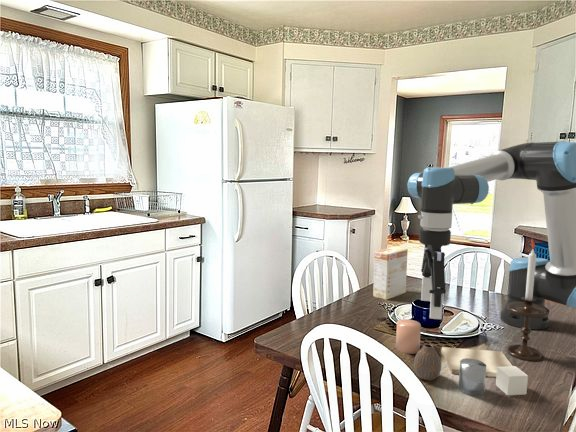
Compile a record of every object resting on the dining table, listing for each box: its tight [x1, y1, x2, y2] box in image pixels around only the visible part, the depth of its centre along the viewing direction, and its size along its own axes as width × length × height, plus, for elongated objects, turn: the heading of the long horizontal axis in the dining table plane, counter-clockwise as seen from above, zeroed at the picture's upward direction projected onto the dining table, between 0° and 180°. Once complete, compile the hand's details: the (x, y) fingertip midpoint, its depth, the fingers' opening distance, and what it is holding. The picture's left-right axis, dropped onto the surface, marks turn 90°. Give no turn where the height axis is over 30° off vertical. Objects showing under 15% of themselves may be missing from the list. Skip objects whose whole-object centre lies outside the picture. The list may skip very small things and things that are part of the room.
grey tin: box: [457, 358, 487, 398], centre depth 108 cm, size 6×6×7 cm
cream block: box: [495, 365, 529, 396], centre depth 109 cm, size 5×5×5 cm
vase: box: [413, 343, 442, 382], centre depth 115 cm, size 7×7×9 cm
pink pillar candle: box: [395, 318, 422, 355], centre depth 132 cm, size 7×7×8 cm
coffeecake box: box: [372, 246, 408, 301], centre depth 184 cm, size 15×7×20 cm, turn 133°
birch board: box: [441, 346, 513, 378], centre depth 123 cm, size 17×14×1 cm
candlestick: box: [506, 237, 550, 362], centre depth 127 cm, size 11×11×35 cm
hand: (430, 309), depth 113 cm, fingers open, 13 cm apart
